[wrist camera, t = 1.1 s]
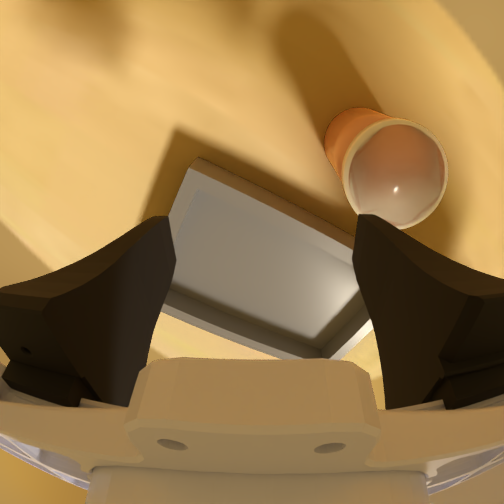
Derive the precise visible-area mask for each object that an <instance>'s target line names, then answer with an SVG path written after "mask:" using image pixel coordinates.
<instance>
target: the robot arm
mask: <svg viewBox="0 0 504 504" xmlns="http://www.w3.org/2000/svg"><path fill="white" fill-rule="evenodd" d="M176 261H177V260H176V255H175V249H174V244H173V239H172V233H171V228H170V222H169V217H168V216H154V217H151V218H149V219H147V220H146V221H144V222H142V223H141V224H139V225H137V226H136V227H134V228H133V229H131V230H130V231H128V232H127V233H125V234H124V235H122V236H121V237H119V238H117V239H116V240H114V241H113V242H111V243H109V244H108V245H106V246H105V247H103V248H101V249H100V250H98V251H96V252H94V253H93V254H91V255H89V256H87V257H85V258H83V259H81V260H79V261H77V262H75V263H73V264H71V265H68V266H66V267H64V268H61V269H59V270H57V271H54V272H52V273H49V274H46V275H44V276H41V277H38V278H35V279H32V280H28V281H24V282H20V283H17V284H13V285H9V286H4V287H2V288H0V347H1V348H2V349H3V351H4V352H5V353H6V355H7V356H8V358H9V359H10V362H9V364H8V365H7V367H6V366H5V365H4V364H2V363H0V448H1V449H3V450H5V451H6V452H8V453H10V454H12V455H14V456H15V457H17V458H19V459H21V460H23V461H25V462H27V463H29V464H30V465H32V466H34V467H37V468H38V469H41V470H43V471H45V472H47V473H49V474H51V475H53V476H55V477H58V478H60V479H62V480H64V481H66V482H69V483H71V484H73V485H76V486H78V487H81V488H84V489H86V490H88V493H87V497H86V501H85V504H430V503H431V504H504V279H501V278H498V277H494V276H491V275H488V274H485V273H482V272H480V271H477V270H474V269H471V268H469V267H467V266H464V265H462V264H460V263H457V262H455V261H453V260H451V259H449V258H447V257H445V256H443V255H441V254H439V253H437V252H435V251H433V250H432V249H430V248H428V247H426V246H425V245H423V244H421V243H420V242H418V241H416V240H415V239H413V238H412V237H410V236H409V235H407V234H406V233H404V232H402V231H401V230H399V229H398V228H396V227H395V226H393V225H392V224H390V223H389V222H387V221H385V220H384V219H382V218H380V217H379V216H377V215H374V214H359V215H358V222H357V229H356V235H355V242H354V248H353V254H352V263H353V268H354V272H355V276H356V280H357V283H358V286H359V289H360V291H361V294H362V297H363V300H364V302H365V305H366V308H367V311H368V313H369V316H370V319H371V322H372V325H373V328H374V332H375V336H376V340H377V345H378V350H379V356H380V362H381V369H382V375H383V384H384V394H385V408H386V410H377V406H376V401H375V397H374V392H373V388H372V384H371V380H370V375H369V373H368V372H366V371H365V370H363V369H362V368H360V367H359V366H357V365H356V364H354V363H353V362H349V361H342V360H333V359H324V358H317V359H284V360H240V359H208V358H189V357H180V358H170V359H160V360H155V361H152V362H151V363H150V364H148V365H147V366H146V363H147V358H148V353H149V348H150V343H151V339H152V335H153V331H154V328H155V325H156V322H157V319H158V317H159V314H160V311H161V309H162V306H163V304H164V301H165V298H166V296H167V293H168V290H169V288H170V285H171V282H172V279H173V275H174V270H175V266H176Z"/></svg>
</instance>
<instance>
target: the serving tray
mask: <svg viewBox="0 0 504 504" xmlns="http://www.w3.org/2000/svg"><path fill="white" fill-rule="evenodd" d="M168 217H169V222H170V228H171V233H172V239H173V244H174V249H175V255H176V260H177V261H176V266H175V270H174V275H173V279H172V282H171V285H170V288H169V290H168V293H167V296H166V298H165V301H164V304H163V306H162V309H161V312H163V313H165V314H168V315H170V316H172V317H174V318H177V319H179V320H181V321H184V322H186V323H189V324H191V325H193V326H196V327H198V328H200V329H203V330H205V331H208V332H210V333H213V334H215V335H218V336H220V337H223V338H225V339H228V340H231V341H233V342H236V343H238V344H241V345H244V346H246V347H249V348H252V349H255V350H257V351H260V352H263V353H266V354H268V355H271V356H274V357H277V358H280V359H283V360H284V359H317V358H324V359H333V360H340V359H341V358H343V357H344V356H345V355H346V354H347V353H348V352H349V351H350V350H351V349H352V348H353V347H354V346H355V345H357V344H358V343H359V342H360V341H361V340H362V339H363V338H364V337H365V336H366V335H367V334H368V333H369V332H370V331H371V330H372V329H373V325H372V322H371V319H370V316H369V313H368V311H367V308H366V305H365V302H364V300H363V297H362V294H361V291H360V289H359V286H358V283H357V280H356V276H355V272H354V268H353V263H352V254H353V248H354V242H355V237H354V236H352V235H350V234H348V233H346V232H345V231H343V230H341V229H339V228H337V227H336V226H334V225H332V224H330V223H328V222H327V221H325V220H323V219H321V218H319V217H317V216H315V215H314V214H312V213H310V212H308V211H306V210H304V209H302V208H300V207H299V206H297V205H295V204H293V203H291V202H289V201H287V200H285V199H283V198H281V197H279V196H277V195H275V194H273V193H272V192H270V191H268V190H266V189H264V188H262V187H260V186H258V185H256V184H254V183H252V182H250V181H248V180H246V179H243V178H241V177H239V176H237V175H235V174H233V173H231V172H229V171H227V170H225V169H223V168H221V167H219V166H216V165H214V164H212V163H210V162H208V161H206V160H204V159H202V158H199V157H197V158H196V160H195V161H194V162H193V163H192V164H191V165H190V166H189V168H188V170H187V172H186V175H185V177H184V179H183V182H182V184H181V186H180V189H179V191H178V193H177V196H176V198H175V201H174V203H173V206H172V208H171V211H170V213H169V216H168Z"/></svg>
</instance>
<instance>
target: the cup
mask: <svg viewBox="0 0 504 504" xmlns="http://www.w3.org/2000/svg"><path fill="white" fill-rule="evenodd" d="M324 146H325V152H326V156H327V158H328V160H329V162H330V164H331V165H332V167H333V168H334V170H335V172H336V173H337V175H338V176H339V178H340V180H341V181H342V185H343V189H344V192H345V195H346V197H347V199H348V201H349V203H350V205H351V206H352V208H353V210H354V211H355V212H356V213H357V215H359V214H374V215H377V216H379V217H380V218H382V219H384V220H385V221H387V222H389V223H390V224H392V225H393V226H395V227H396V228H398V229H399V230H400V229H405V228H409V227H412V226H414V225H416V224H418V223H420V222H421V221H423V220H424V219H425V218H427V217H428V216H429V215H430V214H431V213H432V212H433V211H434V210H435V208H436V207H437V206H438V204H439V203H440V201H441V199H442V197H443V195H444V192H445V190H446V186H447V182H448V163H447V158H446V154H445V152H444V149H443V147H442V145H441V144H440V142H439V140H438V139H437V138H436V137H435V135H434V134H432V133H431V132H430V131H429V130H428V129H426V128H425V127H423V126H421V125H420V124H417V123H415V122H412V121H410V120H407V119H401V118H392V117H390V116H387V115H385V114H382V113H380V112H377V111H374V110H372V109H368V108H360V107H357V108H351V109H348V110H346V111H343V112H342V113H340V114H339V115H337V116H336V117H335V118H334V119H333V120H332V122H331V123H330V125H329V127H328V128H327V131H326V134H325V141H324Z"/></svg>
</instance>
